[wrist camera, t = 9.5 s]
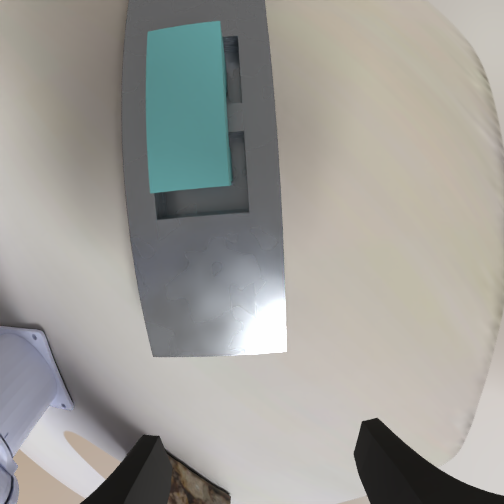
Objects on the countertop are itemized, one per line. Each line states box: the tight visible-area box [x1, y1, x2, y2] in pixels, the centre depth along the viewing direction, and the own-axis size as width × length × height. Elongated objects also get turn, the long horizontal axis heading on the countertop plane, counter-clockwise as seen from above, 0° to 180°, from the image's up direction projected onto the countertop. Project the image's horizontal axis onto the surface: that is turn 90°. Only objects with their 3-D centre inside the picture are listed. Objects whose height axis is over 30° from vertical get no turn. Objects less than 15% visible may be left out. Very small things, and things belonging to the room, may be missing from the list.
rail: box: [122, 0, 286, 357], centre depth 14 cm, size 7×24×3 cm, turn 4°
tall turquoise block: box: [146, 21, 233, 194], centre depth 12 cm, size 7×3×5 cm, turn 3°
